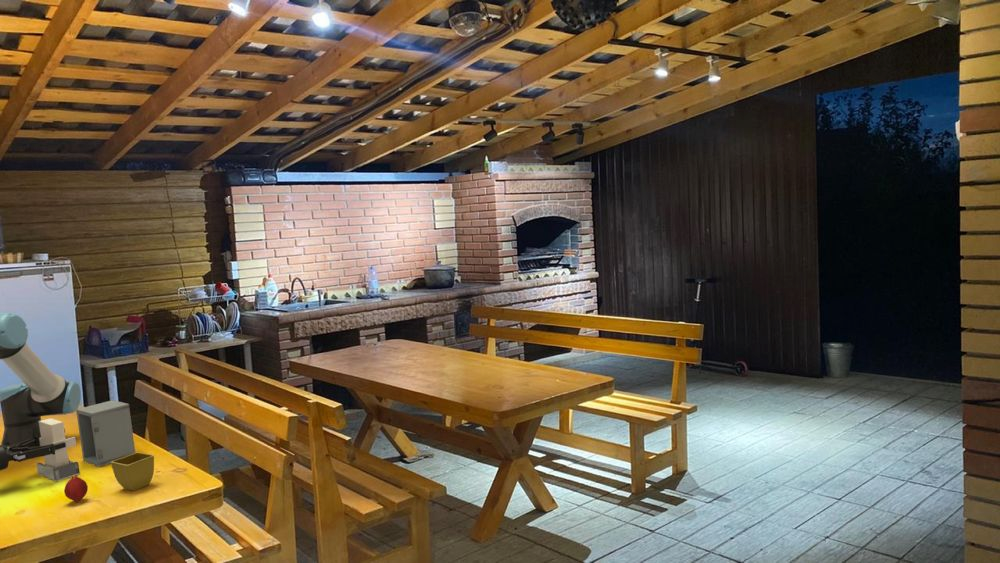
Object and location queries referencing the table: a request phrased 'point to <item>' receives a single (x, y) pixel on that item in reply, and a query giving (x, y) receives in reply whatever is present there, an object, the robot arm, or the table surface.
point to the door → (50, 434)
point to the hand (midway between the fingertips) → (68, 438)
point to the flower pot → (134, 470)
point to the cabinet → (105, 432)
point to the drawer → (58, 471)
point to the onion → (75, 488)
